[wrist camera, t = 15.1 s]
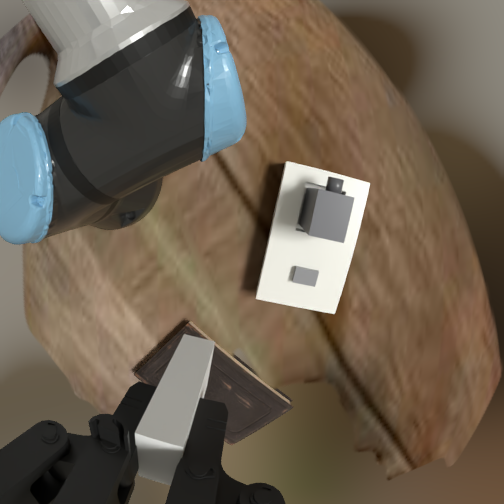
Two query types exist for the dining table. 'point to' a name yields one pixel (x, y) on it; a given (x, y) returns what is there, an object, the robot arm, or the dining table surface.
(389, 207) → the dining table surface
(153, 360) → the hardcover book
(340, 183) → the plug
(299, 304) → the socket
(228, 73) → the robot arm
